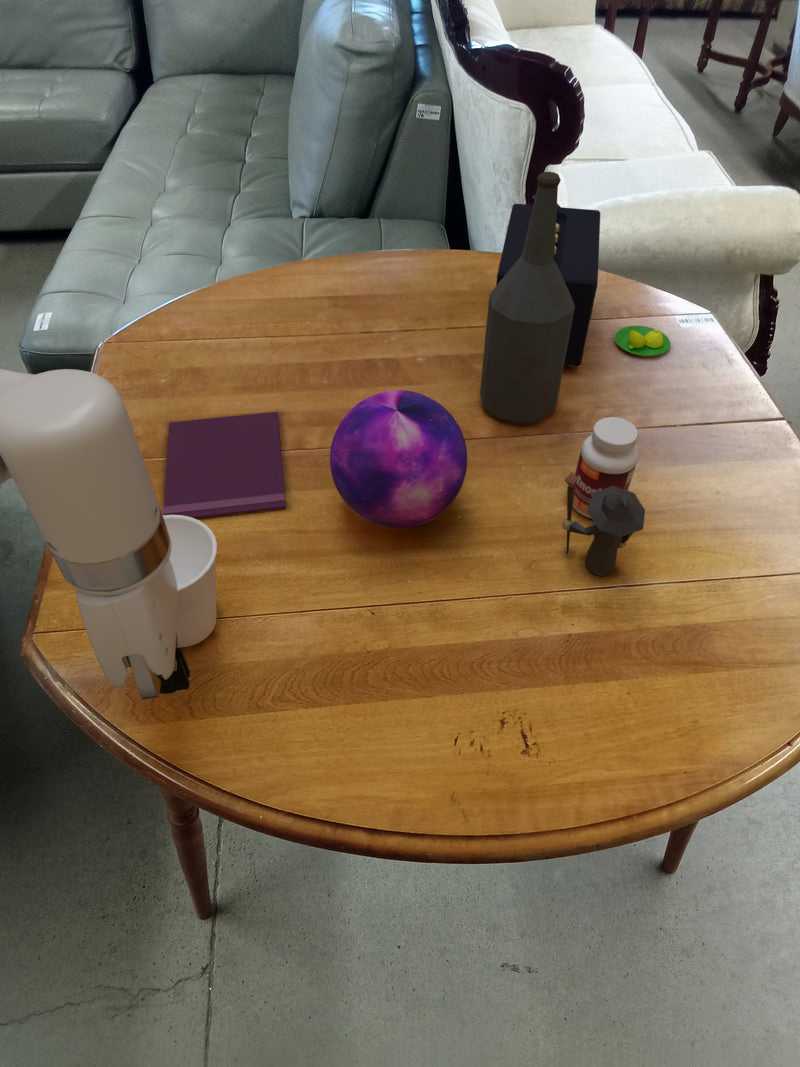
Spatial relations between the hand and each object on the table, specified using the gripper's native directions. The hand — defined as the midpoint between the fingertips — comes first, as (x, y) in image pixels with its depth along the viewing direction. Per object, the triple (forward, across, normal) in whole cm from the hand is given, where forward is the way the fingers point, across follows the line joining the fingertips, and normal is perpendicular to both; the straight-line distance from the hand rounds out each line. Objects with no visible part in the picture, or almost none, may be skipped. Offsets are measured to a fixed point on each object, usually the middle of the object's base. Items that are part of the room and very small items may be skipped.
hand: (171, 683), depth 65 cm
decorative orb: (+6, -24, +24) cm, 34 cm away
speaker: (+6, -58, +51) cm, 77 cm away
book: (+6, -35, +4) cm, 35 cm away
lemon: (+6, -52, +65) cm, 83 cm away
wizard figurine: (+6, -12, +43) cm, 45 cm away
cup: (+6, -11, 0) cm, 12 cm away
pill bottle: (+6, -21, +47) cm, 51 cm away
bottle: (+6, -41, +43) cm, 59 cm away
